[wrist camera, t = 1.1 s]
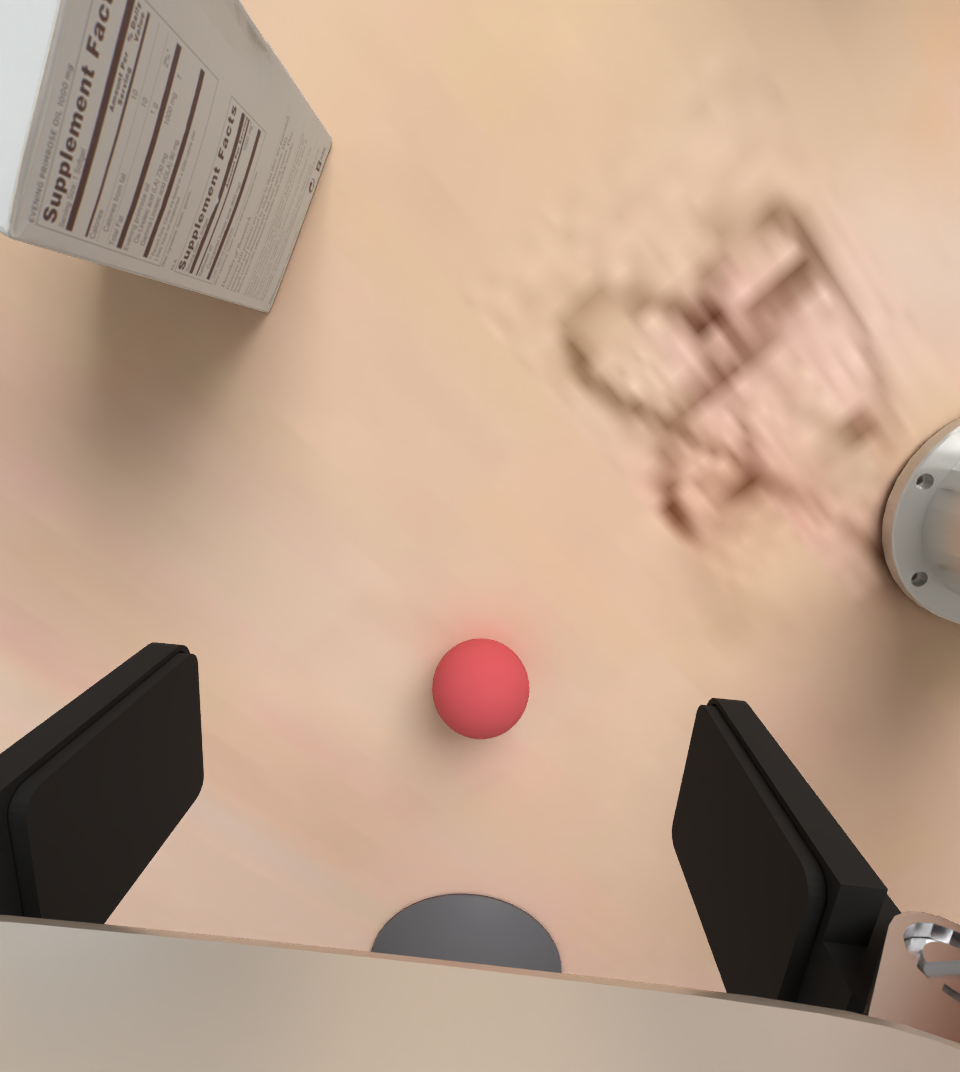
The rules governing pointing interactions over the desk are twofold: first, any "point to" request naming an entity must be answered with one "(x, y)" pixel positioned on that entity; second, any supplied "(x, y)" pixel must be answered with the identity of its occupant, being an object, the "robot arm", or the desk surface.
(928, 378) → the desk surface
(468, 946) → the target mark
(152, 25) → the supplement box
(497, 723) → the ball
